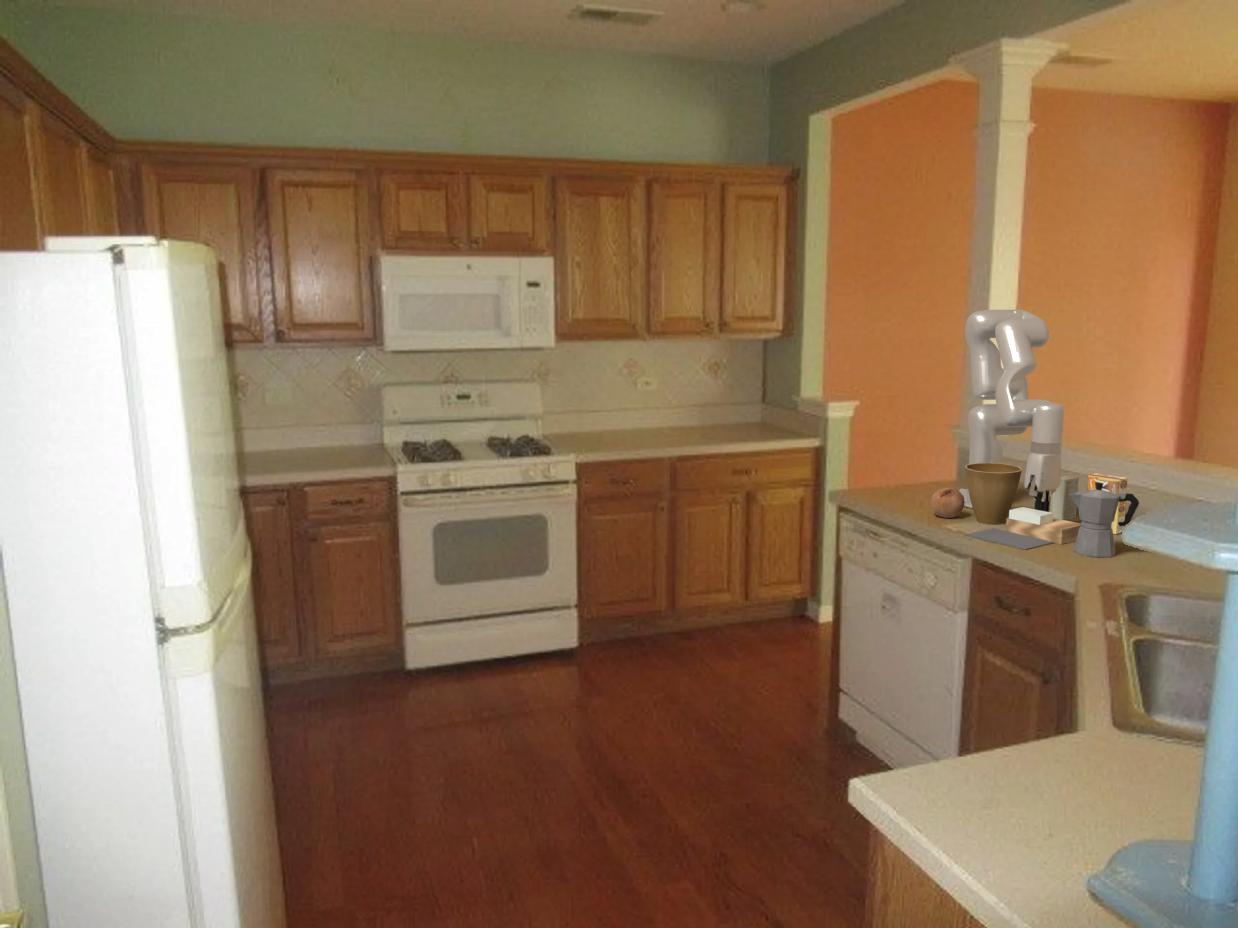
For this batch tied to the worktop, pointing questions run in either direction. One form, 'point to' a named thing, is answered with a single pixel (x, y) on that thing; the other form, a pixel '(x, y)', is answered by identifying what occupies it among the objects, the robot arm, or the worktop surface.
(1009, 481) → the plant pot
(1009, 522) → the wooden block
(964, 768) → the worktop surface
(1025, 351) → the robot arm
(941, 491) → the onion
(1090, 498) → the coffeepot
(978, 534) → the mat
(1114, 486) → the candy box
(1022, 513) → the white rectangular block
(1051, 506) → the skincare box
